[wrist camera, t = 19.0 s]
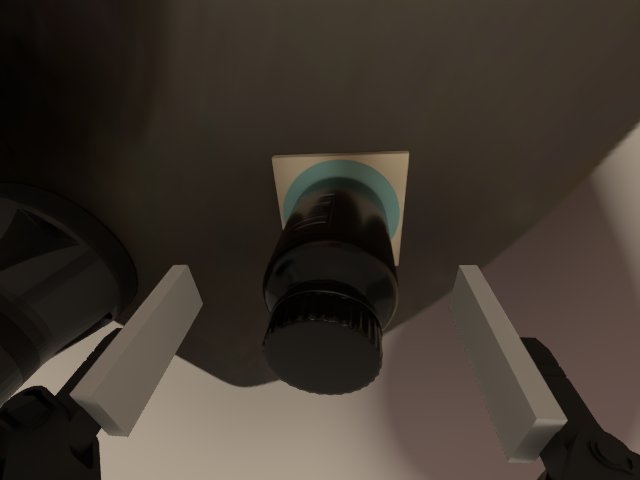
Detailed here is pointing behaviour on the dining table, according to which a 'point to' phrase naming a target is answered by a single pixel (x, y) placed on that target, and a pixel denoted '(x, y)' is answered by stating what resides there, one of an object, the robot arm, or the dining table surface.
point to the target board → (366, 167)
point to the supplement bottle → (330, 289)
